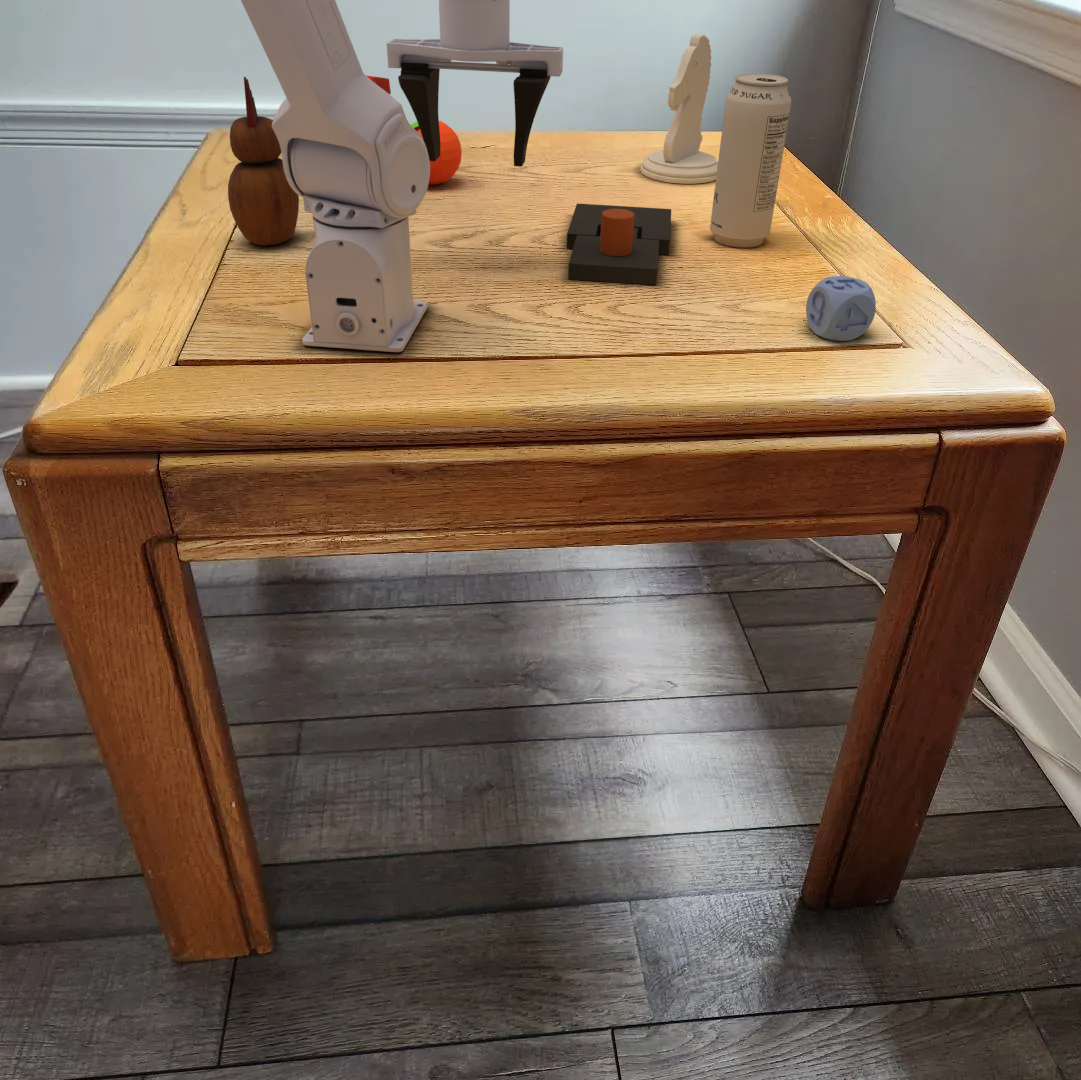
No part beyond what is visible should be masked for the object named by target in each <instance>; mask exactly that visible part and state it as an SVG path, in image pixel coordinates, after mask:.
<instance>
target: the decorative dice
mask: <svg viewBox="0 0 1081 1080" xmlns="http://www.w3.org/2000/svg"><path fill="white" fill-rule="evenodd" d="M876 303H877V302H876V295H875V293H874V291H873V289H872V287H871V286H870V285H869V283H868V282H866V281H864V280H862V279H860V278H857V277H851V276H846V275H845V276H843V275H833V276H827V277H825V278H822V279H821V280H820V281H818V282H817V283H816V284H815V285H814V287H813V288H812V289H811V291H810V292H809V293H808V297H807V299H806V304H805V305H806V306H805V307H806V308H805V315H806V320H807V324H808V326H809V329H810V330H811V331H812V332H813V333H814V334H815V335H816V336H818V337H820V338H823V339H826V340H829V341H834V342H835V341H836V342H848V341H853V340H856V339H857V338H859V337H860V336H862V335H863V334H865V332H866V331H867V330H868V329H869V328H870V326H871V325H872V323H873V321H874V319H875V315H876V309H877V304H876Z"/></svg>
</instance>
